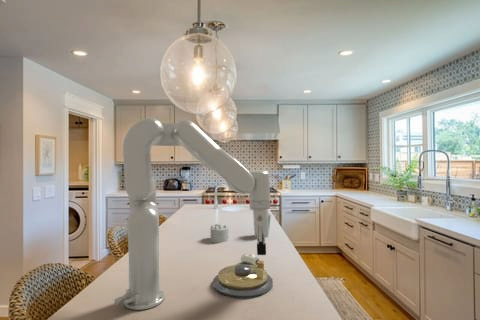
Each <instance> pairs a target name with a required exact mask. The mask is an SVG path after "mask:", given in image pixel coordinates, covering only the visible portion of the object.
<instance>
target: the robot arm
mask: <svg viewBox="0 0 480 320" xmlns="http://www.w3.org/2000/svg"><path fill="white" fill-rule="evenodd" d="M153 146H155V147H156V146H157V147H159V146H160V147H161V146H162V147H163V146H164V147H165V146H166V147H167V146H168V147H169V146H170V147H177V146H179V147H180V146H182V147H183V149H185V150H186V151H188V153H190V155H192V156H193V157H194V158H195V159H196V160H197V161H199V162H200V163H201V165H203V166H205V167H206V168H207V169H209V170H211V171H214V172H215V173H216V174H218V175H219V176H220V177H221V178H222V179H223V180H225V181H226V184H227V187H228V188H229V189H230V190H231V191H233V192H236V193H239V194H243V195H246V194H249V209H250V210H251V211H253V212H252V215H253V218H252V219H253V230H254V238H256V241H257V242H256V255H257V256H266V255H267V243H266V238H268V237H269V235H270V228H269V227H268V211H269V210H270V209H271V192H270V190H271V189H270V174H269V172H268V171H266V170H257V171H256V170H255V171H251V172H250V171H249V170H248V169H246V168H245V167H244V166H243V165H242V164H241V163H240V162H239V161H238V160H237V159H236V158H234V157H233V156H232V155H230V153H228V152H226V151H225V150H224V149H223V148H221V147H220V146H219V145H218V144H217V143H216V142H215V141H214V140H212V138H210V137H209V136H208V134H206V133H205V132H204V131H203V130H202V129H201V128H200V126H198V125H197V124H196V123H195V122H193V121H192V120H190V119H182V120H180V121H178V122H174V123H173V122H161V121H160V120H158V119H157V118H154V117H144V118H142V119H140V120H138V121H137V122H135V123H134V124H133V125H132V126H130V128H129V129H128V130H127V132H126V134H125V136H124V140H123V143H122V159H123V169H124V179H125V180H124V182H125V183H124V184H125V185H124V187H125V192H126V194H127V195H128V205H129V214H128V218H127V240H128V241H127V242H128V245H127V246H128V289H126V290H125V293H124V294H123V295H122V296H119V297H116V298H115V299H114V304H115V306H119V305H120V304H123V306H124V307H126V309H129V310H135V311H137V310H138V311H139V310H140V311H142V310H148V309H151V308H155V307H156V306H158V305H160V304H161V303H163V301H164V300H165V293H164V292H163V291H162V290H160V250H159V249H160V239H159V238H160V216H159V209H158V199H157V198H158V197H157V190H156V181H155V178H154V175H153V169H152V156H151V155H152V154H151V149H152V147H153ZM258 227H259V228H258Z"/></svg>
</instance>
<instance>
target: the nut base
mask: <svg viewBox="0 0 480 320" xmlns="http://www.w3.org/2000/svg"><path fill="white" fill-rule="evenodd" d="M273 283H274V282H273V278H272V276H270V275H269V274H268V273H267V283H266V284H265V285H264V286H262V287H260V288H257V289H254V290H246V291H239V290H231V289H227V288H225V287H223V286H221V285H220V284H219V281H218V274H217V275H216V276H214V278H213V280H212V287H213V290H214V291H215V292H217V293H218V294H220V295H222V296H225V297H229V298H234V299H249V298H256V297H261V296H263V295H265V294H268V293H269V292H270V291H271V290H272V289H273V287H274V286H273Z"/></svg>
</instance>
